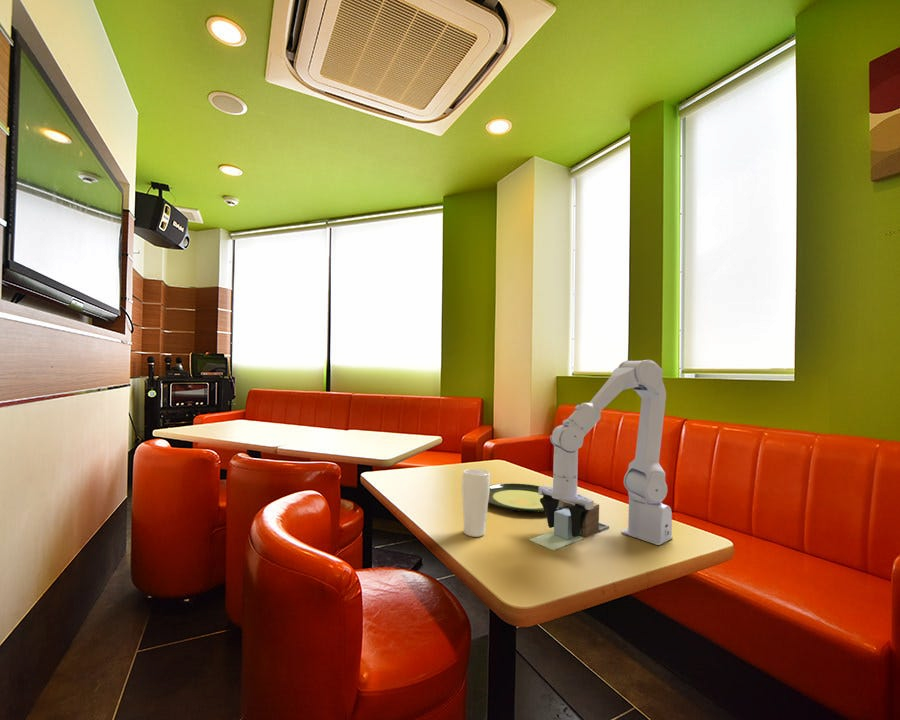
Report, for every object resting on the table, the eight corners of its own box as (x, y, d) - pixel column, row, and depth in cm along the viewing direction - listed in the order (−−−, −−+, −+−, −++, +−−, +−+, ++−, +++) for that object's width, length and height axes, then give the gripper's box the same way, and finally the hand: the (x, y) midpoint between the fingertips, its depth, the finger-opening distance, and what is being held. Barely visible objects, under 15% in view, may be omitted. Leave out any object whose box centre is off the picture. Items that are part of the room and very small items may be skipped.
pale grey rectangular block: (595, 529, 107) (595, 507, 107) (567, 539, 99) (568, 516, 99) (581, 524, 110) (581, 503, 110) (553, 534, 102) (554, 511, 102)
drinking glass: (465, 540, 98) (467, 475, 98) (457, 529, 104) (459, 468, 104) (492, 538, 99) (494, 474, 100) (482, 527, 106) (484, 468, 106)
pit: (609, 528, 109) (609, 525, 109) (600, 531, 106) (600, 529, 106) (585, 520, 114) (585, 518, 114) (576, 523, 111) (576, 521, 111)
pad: (583, 538, 101) (583, 537, 101) (553, 550, 93) (553, 549, 93) (559, 529, 106) (559, 528, 106) (529, 540, 99) (529, 539, 99)
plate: (576, 523, 112) (576, 513, 113) (473, 513, 117) (474, 504, 117) (564, 494, 140) (564, 486, 140) (481, 487, 145) (482, 480, 145)
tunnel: (598, 532, 106) (599, 504, 106) (585, 537, 102) (586, 508, 102) (575, 524, 111) (576, 497, 111) (562, 529, 107) (563, 501, 107)
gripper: (531, 471, 105) (529, 525, 105) (582, 484, 94) (580, 545, 93) (548, 467, 110) (547, 519, 109) (598, 480, 98) (597, 538, 98)
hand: (563, 531), depth 102 cm, fingers open, 6 cm apart
